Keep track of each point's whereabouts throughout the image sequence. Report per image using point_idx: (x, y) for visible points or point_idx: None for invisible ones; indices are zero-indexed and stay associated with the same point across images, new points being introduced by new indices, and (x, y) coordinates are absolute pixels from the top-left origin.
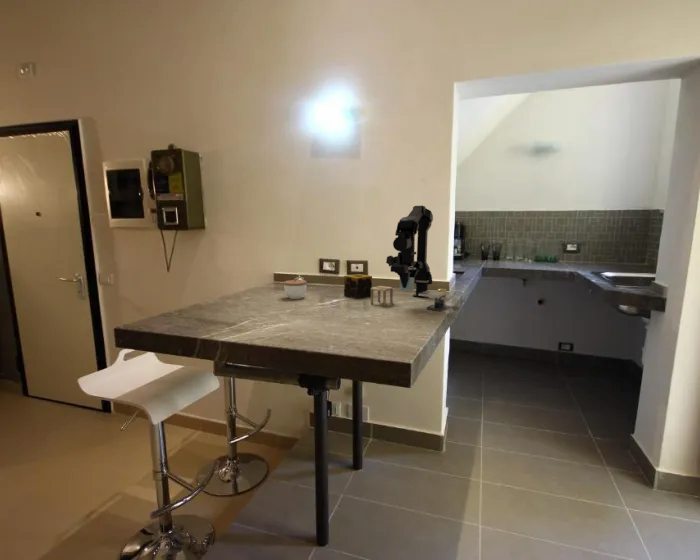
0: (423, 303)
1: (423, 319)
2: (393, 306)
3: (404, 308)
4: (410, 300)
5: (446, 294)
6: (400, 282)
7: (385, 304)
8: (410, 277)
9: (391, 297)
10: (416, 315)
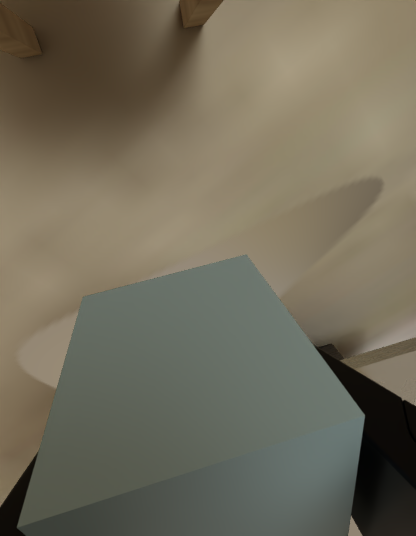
0: (347, 245)
1: (6, 470)
2: (95, 143)
3: (116, 260)
4: (408, 95)
5: (412, 400)
6: (62, 413)
7: (30, 52)
8: (311, 531)
9: (195, 2)
10: (35, 413)
